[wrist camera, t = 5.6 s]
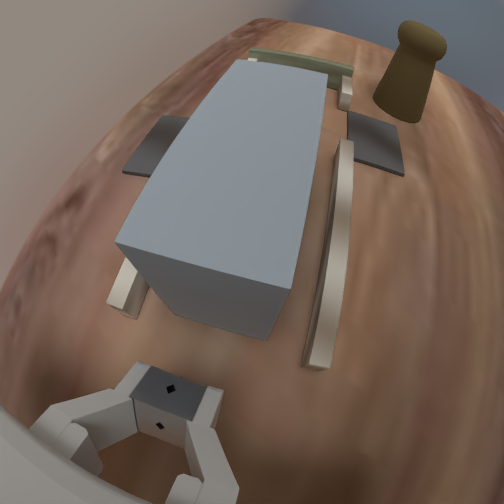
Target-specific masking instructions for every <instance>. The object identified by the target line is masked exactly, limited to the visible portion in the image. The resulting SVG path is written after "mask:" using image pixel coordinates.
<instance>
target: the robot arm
mask: <svg viewBox="0 0 504 504" xmlns="http://www.w3.org/2000/svg"><path fill="white" fill-rule="evenodd" d="M223 395H224V390H222V389H219V388H215V387H212V386H209V385H205V384H202V383H199V382H196V381H192V380H189V379H186V378H183V377H179V376H176V375H174V374H171V373H169V372H166V371H163V370H161V369H158V368H156V367H154V366H151V365H148V364H146V363H144V362H141V361H138V362H136V363H135V364H134V365H133V366H132V368H131V369H130V370H129V371H128V373H127V374H126V375H125V376H124V378H123V379H122V380H121V381H120V383H119V384H118V385H117V386H116V388H115V389H114V390H113V389H111V388H109V389H106V390H102V391H99V392H96V393H92V394H89V395H86V396H82V397H79V398H75V399H72V400H68V401H64V402H60V403H57V404H53V405H51V406H50V407H49V408H48V409H47V410H46V411H45V412H44V413H43V414H42V415H41V416H40V417H39V418H38V420H37V421H36V422H35V423H34V424H33V425H32V426H31V427H30V428H29V429H28V428H27V427H25V426H24V425H23V424H22V423H21V422H20V421H19V420H17V419H16V418H15V417H14V416H13V415H12V414H11V413H10V412H9V411H8V410H7V409H6V408H5V407H4V406H3V405H2V404H1V403H0V504H154V503H151V502H149V501H146V500H144V499H142V498H139V497H137V496H135V495H133V494H130V493H128V492H126V491H124V490H122V489H120V488H118V487H116V486H114V485H112V484H110V483H108V482H106V481H104V480H103V479H101V478H99V475H100V473H101V472H102V470H103V468H104V466H103V463H102V462H101V460H100V458H99V456H98V454H97V452H98V451H100V450H102V449H104V448H107V447H109V446H111V445H113V444H115V443H117V442H119V441H121V440H123V439H125V438H127V437H129V436H131V435H133V434H135V433H137V431H140V432H142V433H145V434H147V435H150V436H152V437H155V438H158V439H160V440H163V441H165V442H168V443H170V444H173V445H175V446H178V447H180V448H183V449H185V453H186V457H187V461H188V464H189V468H190V472H191V475H192V476H189V475H186V474H181V475H178V476H177V478H176V480H175V482H174V484H173V487H172V489H171V491H170V493H169V495H168V497H167V500H166V502H165V504H236V500H237V496H238V492H239V486H238V484H237V482H236V479H235V477H234V475H233V472H232V470H231V468H230V465H229V463H228V461H227V458H226V456H225V453H224V451H223V449H222V446H221V444H220V441H219V438H218V436H217V433H216V431H215V426H216V423H217V420H218V416H219V412H220V408H221V404H222V399H223Z"/></svg>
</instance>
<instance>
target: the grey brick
mask: <svg viewBox="0 0 504 504" xmlns="http://www.w3.org/2000/svg"><path fill="white" fill-rule="evenodd" d="M327 79H328V74H324V73H320V72H316V71H311V70H306V69H301V68H296V67H291V66H285V65H279V64H272V63H265V62H257V61H249V60H238V59H237V60H236V61H235V62H234V64H233V65H232V66H231V67H230V68H229V69H228V70H227V72H226V73H225V74H224V75H223V76H222V78H221V79H220V80H219V81H218V82H217V84H216V85H215V86H214V87H213V89H212V90H211V91H210V92H209V94H208V95H207V96H206V97H205V99H204V100H203V101H202V103H201V104H200V105H199V106H198V108H197V109H196V110H195V112H194V113H193V115H192V116H191V117H190V119H189V120H188V121H187V123H186V124H185V126H184V127H183V128H182V130H181V131H180V133H179V134H178V135H177V137H176V138H175V140H174V141H173V143H172V144H171V146H170V147H169V149H168V150H167V152H166V153H165V155H164V156H163V158H162V159H161V161H160V162H159V164H158V166H157V167H156V169H155V170H154V172H153V174H152V175H151V177H150V179H149V180H148V182H147V183H146V185H145V187H144V189H143V190H142V192H141V194H140V195H139V197H138V199H137V201H136V202H135V204H134V206H133V208H132V209H131V211H130V213H129V215H128V217H127V219H126V221H125V222H124V224H123V226H122V228H121V230H120V232H119V234H118V236H117V238H116V240H115V243H116V245H117V246H118V247H119V248H120V250H121V251H122V252H123V254H124V255H125V256H126V257H127V259H128V260H129V261H130V262H131V264H132V265H133V266H134V267H135V269H136V270H137V271H138V272H139V274H140V275H141V276H142V277H143V278H144V280H145V281H146V282H147V283H148V284H149V286H150V287H151V288H152V289H153V290H154V291H155V293H156V294H157V295H158V296H159V297H160V298H161V300H162V301H163V302H164V303H165V304H166V305H167V306H168V308H169V309H170V310H171V311H172V312H173V313H174V314H175V315H177V316H181V317H184V318H187V319H190V320H193V321H196V322H200V323H203V324H206V325H210V326H213V327H217V328H220V329H223V330H227V331H231V332H234V333H238V334H242V335H245V336H249V337H253V338H257V339H261V340H265V341H267V339H268V337H269V335H270V333H271V331H272V329H273V327H274V325H275V322H276V320H277V318H278V316H279V314H280V312H281V310H282V307H283V305H284V303H285V301H286V299H287V297H288V294H289V292H290V290H291V286H292V282H293V277H294V272H295V268H296V263H297V258H298V254H299V249H300V244H301V239H302V234H303V229H304V224H305V219H306V213H307V208H308V203H309V197H310V192H311V186H312V180H313V174H314V169H315V163H316V156H317V150H318V144H319V137H320V131H321V124H322V117H323V110H324V103H325V95H326V87H327Z"/></svg>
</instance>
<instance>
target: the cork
mask: <svg viewBox="0 0 504 504" xmlns="http://www.w3.org/2000/svg"><path fill="white" fill-rule="evenodd" d="M398 39H399V42H400V45H399V47H398V48H397V50H396V52H395V54H394V56H393V58H392V60H391V62H390V64H389V66H388V68H387V70H386V72H385V74H384V76H383V78H382V79H381V81H380V83H379V85H378V87H377V89H376V91H375V93H374V95H373V99H374V101H375V103H376V104H377V105H378V106H379V107H380V108H381V109H382V110H384V111H385V112H386V113H388V114H390V115H391V116H393V117H395V118H397V119H400V120H402V121H405V122H409V123H416V122H419V121H420V119H421V116H422V113H423V109H424V106H425V102H426V99H427V95H428V92H429V88H430V84H431V81H432V77H433V73H434V68H435V64H436V61H438V60H440V59H442V58H443V56H444V55H445V53H446V50H447V44H446V41H445V39H444V38H443V37H442V36H441V35H440V34H439V33H437V32H436V31H434V30H433V29H431V28H430V27H428V26H426V25H424V24H421V23H418V22H415V21H404V22H403V23H402V24H401V25H400V26H399V29H398Z"/></svg>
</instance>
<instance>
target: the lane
mask: <svg viewBox="0 0 504 504" xmlns="http://www.w3.org/2000/svg"><path fill="white" fill-rule="evenodd" d="M248 60H249V61H257V62H265V63H272V64H279V65H285V66H291V67H296V68H301V69H306V70H311V71H316V72H320V73H324V74H328V79H327V87H328V88H332V89H336V90H339V92H338V109H340V110H344V111H347V112H348V129H347V140H346V139H343V138H340V141H339V144H338V147H337V150H336V153H335V156H334V165H333V176H332V185H331V194H330V202H329V211H328V218H327V226H326V233H325V240H324V247H323V253H322V259H321V266H320V272H319V278H318V283H317V289H316V295H315V300H314V305H313V310H312V316H311V321H310V325H309V330H308V335H307V340H306V344H305V349H304V353H303V358H302V362H301V366H300V367H302V368H307V369H312V370H317V371H320V370H325V369H329V368H330V367H331V362H332V357H333V352H334V347H335V341H336V336H337V330H338V324H339V318H340V312H341V305H342V298H343V291H344V284H345V276H346V267H347V258H348V248H349V237H350V225H351V211H352V192H353V161H357V162H361V163H364V164H367V165H370V166H373V167H376V168H380V169H383V170H386V171H389V172H391V173H394V174H397V175H400V176H404V175H405V173H404V166H403V160H402V154H401V149H400V143H399V138H398V133H397V129H396V126H394V125H391V124H389V123H386V122H383V121H380V120H377V119H374V118H371V117H368V116H365V115H362V114H358V113H355V112H352V111H348V109H349V105H350V102H351V99H352V74H353V71H354V70H353V67H351V66H348V65H344V64H340V63H337V62H333V61H329V60H324V59H320V58H316V57H311V56H306V55H301V54H295V53H290V52H283V51H277V50H270V49H262V48H253V47H251V49H250V50H249V58H248ZM189 119H190V118H189V117H177V116H164V115H163V116H162V117H161V118H160V119H159V121H158V122H157V123H156V124H155V126H154V127H153V128H152V129H151V131H150V132H149V133H148V135H147V136H146V137H145V139H144V140H143V141H142V143H141V144H140V145H139V147H138V148H137V149H136V151H135V152H134V154H133V155H132V156H131V158H130V159H129V161H128V162H127V164H126V165H125V166H124V168H123V169H122V172H123V173H126V174H132V175H139V176H145V177H151V175H152V174H153V172H154V170H155V169H156V167H157V166H158V164H159V162H160V161H161V159H162V158H163V156H164V155H165V153H166V152H167V150H168V149H169V147H170V146H171V144H172V143H173V141H174V140H175V138H176V137H177V135H178V134H179V133H180V131H181V130H182V128H183V127H184V126H185V124H186V123H187V121H188V120H189ZM148 288H149V284H148V283H147V282H146V281H145V280H144V278H143V277H142V276H141V275H140V274H139V272H138V271H137V270H136V269H135V267H134V266H133V265H132V264H131V262H130V261H129V260H128V259H127V257H126V258H125V260H124V262H123V264H122V267H121V269H120V271H119V273H118V276H117V278H116V280H115V283H114V285H113V287H112V290H111V292H110V295H109V297H108V300H107V302H106V303H107V304H108V305H110V306H111V307H113V308H114V309H115V310H117V311H118V312H120V313H121V314H123V315H126V316H128V317H131V318H134V319H137V316H138V314H139V311H140V308H141V306H142V303H143V300H144V298H145V295H146V293H147V290H148Z"/></svg>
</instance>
